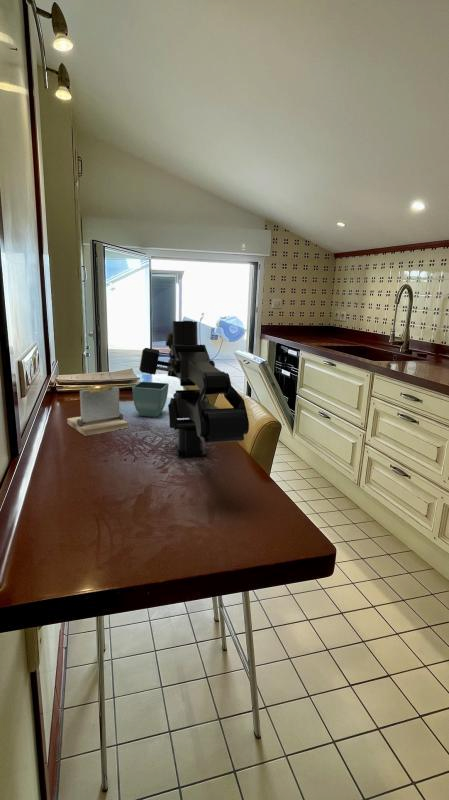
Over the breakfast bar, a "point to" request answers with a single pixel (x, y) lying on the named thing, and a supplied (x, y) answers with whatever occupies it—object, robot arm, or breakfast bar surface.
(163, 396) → the flower pot
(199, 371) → the robot arm
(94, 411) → the flat square panel
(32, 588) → the breakfast bar surface
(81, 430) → the pale wooden slab
